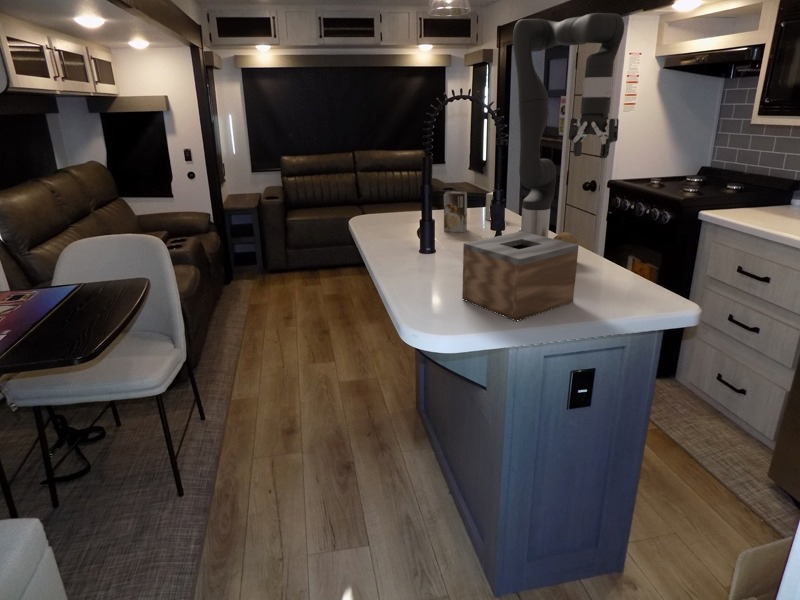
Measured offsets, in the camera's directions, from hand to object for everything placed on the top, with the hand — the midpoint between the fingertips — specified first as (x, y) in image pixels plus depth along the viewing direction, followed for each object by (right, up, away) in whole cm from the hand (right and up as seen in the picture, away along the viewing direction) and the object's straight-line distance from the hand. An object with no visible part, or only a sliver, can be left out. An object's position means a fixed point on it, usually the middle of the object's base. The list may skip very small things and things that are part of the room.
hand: (590, 157), depth 152 cm
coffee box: (-30, -11, +77) cm, 84 cm away
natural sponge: (+2, -27, +31) cm, 41 cm away
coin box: (-22, -41, -5) cm, 46 cm away
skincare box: (-11, -3, +97) cm, 98 cm away
